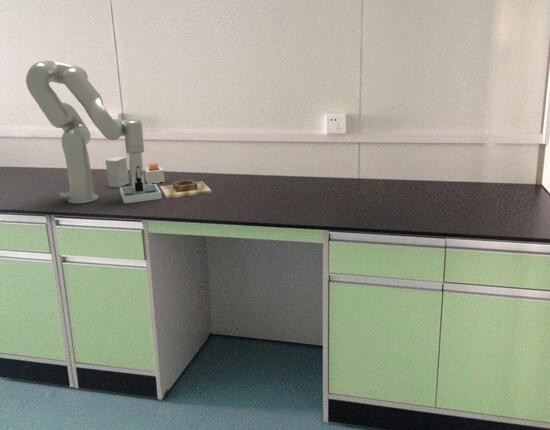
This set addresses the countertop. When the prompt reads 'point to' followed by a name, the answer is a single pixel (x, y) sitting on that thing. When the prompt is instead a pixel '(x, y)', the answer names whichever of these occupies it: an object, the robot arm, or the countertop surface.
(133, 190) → the block
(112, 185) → the small box
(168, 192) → the plate
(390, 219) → the countertop surface
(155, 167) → the button
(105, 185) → the countertop surface
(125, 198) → the tote tray
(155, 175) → the button post
